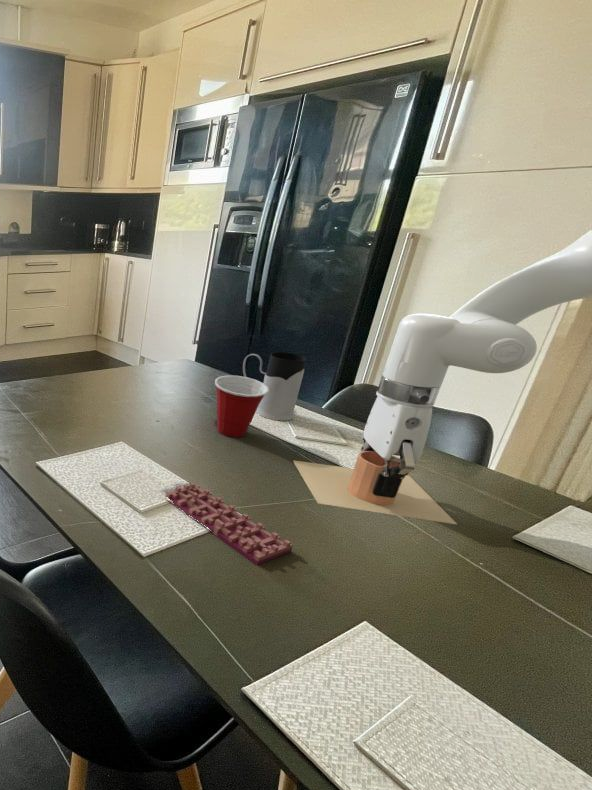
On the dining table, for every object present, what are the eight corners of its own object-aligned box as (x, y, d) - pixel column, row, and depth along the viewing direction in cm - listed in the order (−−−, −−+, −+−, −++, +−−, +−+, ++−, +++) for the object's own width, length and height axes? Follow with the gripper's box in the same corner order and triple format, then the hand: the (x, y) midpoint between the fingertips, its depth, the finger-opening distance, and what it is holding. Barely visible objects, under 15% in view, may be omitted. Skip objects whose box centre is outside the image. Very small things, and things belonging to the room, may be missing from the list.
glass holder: (285, 423, 116) (300, 363, 110) (227, 405, 126) (238, 350, 120) (300, 415, 121) (315, 357, 115) (243, 398, 131) (254, 344, 126)
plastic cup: (209, 439, 107) (219, 389, 103) (202, 420, 117) (211, 373, 112) (263, 445, 105) (275, 394, 100) (250, 425, 115) (261, 377, 110)
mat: (408, 476, 93) (409, 475, 93) (471, 539, 75) (472, 538, 75) (292, 461, 98) (293, 460, 98) (325, 516, 81) (326, 515, 80)
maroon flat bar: (193, 488, 88) (195, 479, 87) (290, 552, 72) (293, 541, 71) (162, 497, 85) (164, 487, 85) (257, 565, 69) (260, 554, 69)
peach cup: (384, 487, 89) (396, 453, 86) (401, 507, 83) (415, 472, 80) (341, 481, 91) (352, 448, 88) (355, 501, 85) (367, 466, 82)
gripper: (465, 413, 71) (423, 515, 77) (408, 377, 86) (377, 464, 93) (405, 407, 73) (369, 507, 79) (359, 372, 88) (332, 459, 95)
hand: (373, 483), depth 86 cm, fingers closed on peach cup, 6 cm apart
